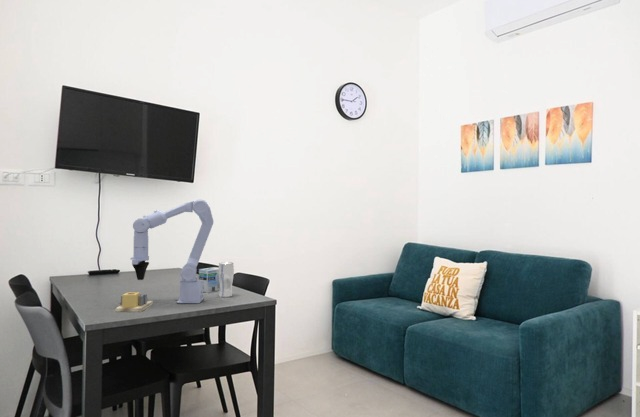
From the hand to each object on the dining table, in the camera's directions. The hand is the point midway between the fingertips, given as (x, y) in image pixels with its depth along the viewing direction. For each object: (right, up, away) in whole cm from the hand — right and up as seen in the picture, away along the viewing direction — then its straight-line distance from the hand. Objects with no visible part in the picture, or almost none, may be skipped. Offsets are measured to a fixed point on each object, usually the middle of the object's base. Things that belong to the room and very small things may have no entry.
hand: (140, 279), depth 183 cm
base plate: (+1, -10, -8) cm, 13 cm away
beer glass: (+32, -11, +17) cm, 38 cm away
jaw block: (+1, -9, -11) cm, 14 cm away
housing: (0, -8, -8) cm, 12 cm away
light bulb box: (+22, -10, +30) cm, 39 cm away
